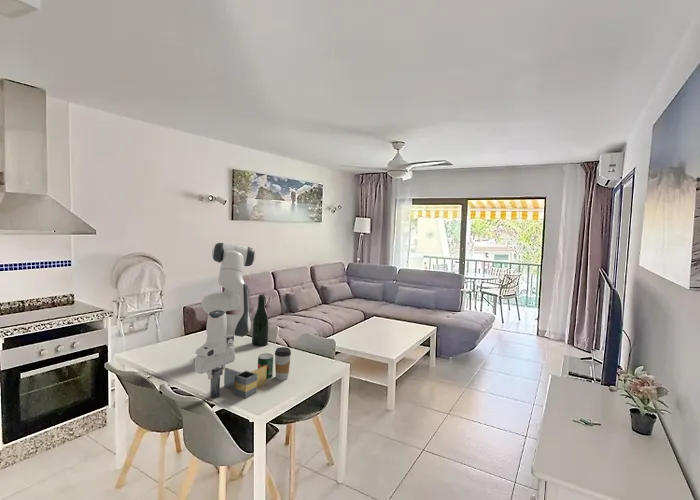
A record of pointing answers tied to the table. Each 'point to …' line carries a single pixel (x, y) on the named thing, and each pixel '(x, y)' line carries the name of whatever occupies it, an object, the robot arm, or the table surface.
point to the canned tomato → (266, 363)
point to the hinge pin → (215, 383)
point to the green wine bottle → (260, 324)
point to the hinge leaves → (245, 381)
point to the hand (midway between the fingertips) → (215, 376)
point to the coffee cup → (282, 362)
